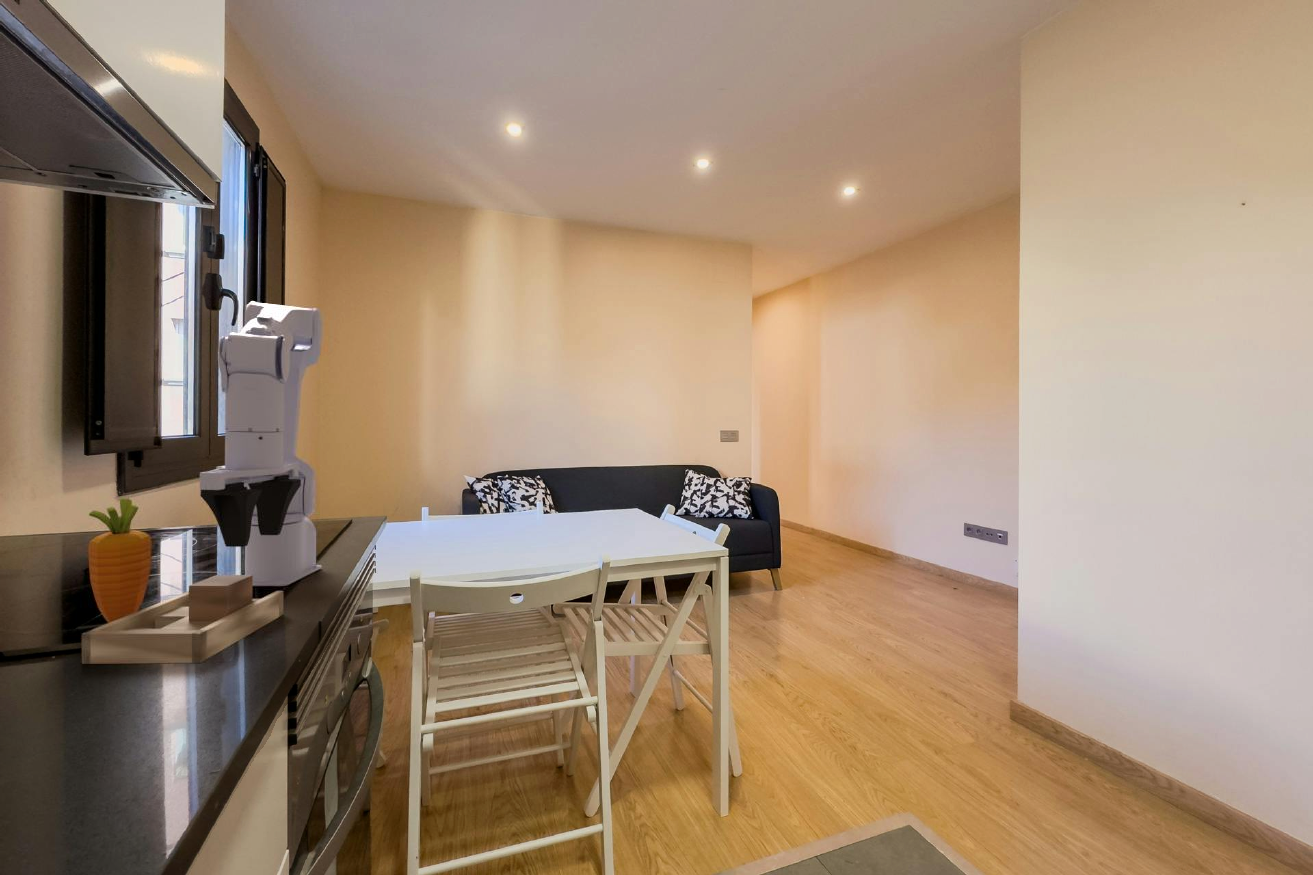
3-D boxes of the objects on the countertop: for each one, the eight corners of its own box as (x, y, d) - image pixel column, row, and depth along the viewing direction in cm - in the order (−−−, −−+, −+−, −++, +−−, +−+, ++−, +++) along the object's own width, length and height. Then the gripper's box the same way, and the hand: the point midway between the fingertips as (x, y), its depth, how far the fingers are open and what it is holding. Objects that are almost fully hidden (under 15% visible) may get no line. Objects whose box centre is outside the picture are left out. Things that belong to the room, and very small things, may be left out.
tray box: (189, 614, 64) (189, 590, 64) (283, 614, 65) (283, 590, 65) (81, 663, 51) (81, 633, 51) (200, 662, 52) (200, 633, 52)
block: (216, 608, 61) (216, 574, 61) (252, 608, 61) (252, 575, 61) (188, 621, 57) (188, 585, 57) (227, 621, 57) (227, 585, 57)
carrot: (118, 641, 56) (118, 504, 56) (74, 639, 56) (74, 502, 56) (163, 623, 61) (163, 497, 61) (122, 621, 61) (122, 496, 61)
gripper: (261, 429, 71) (260, 527, 71) (170, 431, 56) (169, 554, 57) (314, 431, 71) (313, 528, 72) (238, 433, 57) (237, 555, 57)
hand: (254, 540), depth 64 cm, fingers open, 5 cm apart
